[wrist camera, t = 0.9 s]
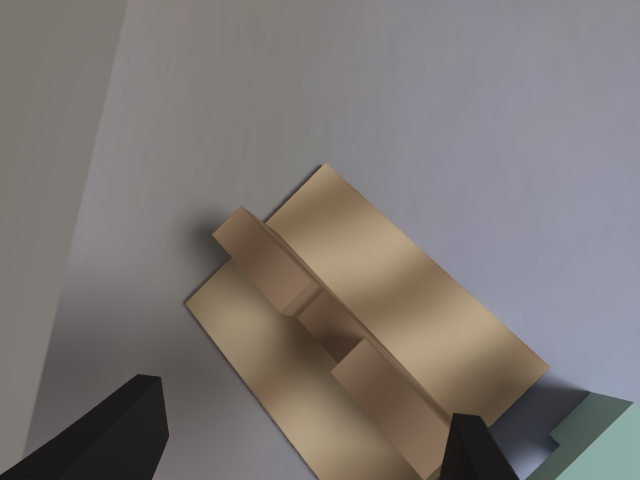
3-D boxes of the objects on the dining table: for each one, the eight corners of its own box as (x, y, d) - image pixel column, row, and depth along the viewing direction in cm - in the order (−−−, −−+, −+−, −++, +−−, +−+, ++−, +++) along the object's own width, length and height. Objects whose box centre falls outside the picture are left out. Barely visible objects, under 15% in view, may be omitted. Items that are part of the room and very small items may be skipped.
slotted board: (547, 366, 21) (580, 369, 16) (371, 540, 22) (347, 599, 16) (327, 166, 27) (300, 121, 22) (190, 304, 27) (130, 292, 22)
